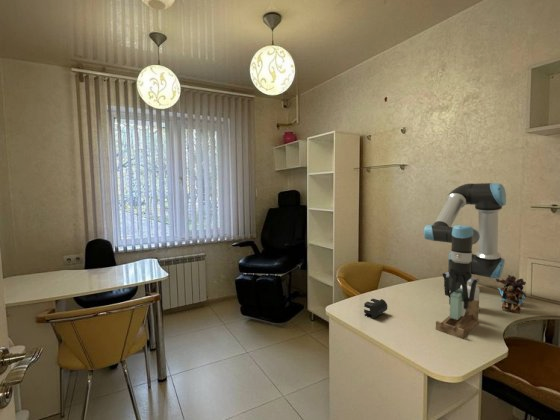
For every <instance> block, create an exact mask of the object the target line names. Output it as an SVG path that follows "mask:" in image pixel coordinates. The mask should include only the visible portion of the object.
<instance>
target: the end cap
mask: <svg viewBox="0 0 560 420" xmlns="http://www.w3.org/2000/svg"><path fill="white" fill-rule="evenodd" d="M363 307H364V309H363V313H364V315H363V316H364V317H366V316H367V317H366V318H369V317H370V318H369V319H376V318H377V317H379V316H380V315H383V313H385V312H386V311H387V310H388V307H389V306H388V304H387V302H386V301H385V300H384V299H382V298H381V299H377V298H372V299H370V301H366V302H364V306H363ZM366 308H367V309H366ZM368 309H369V310H368Z"/></svg>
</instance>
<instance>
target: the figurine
mask: <svg viewBox="0 0 560 420" xmlns="http://www.w3.org/2000/svg"><path fill="white" fill-rule="evenodd" d="M495 281H496V283H501V284H503V287H501V288H500V289H501V291H503V296H501V300H502V299H505V300H504V301H502V302H503V303H502V304H501V309H502V311H503V312H507V313H512V314H520V313H521V310H522V308H521V304H520V305H519V304H518V303H519V299H522V296H523V295H524V296H525V299H526V298H527V293H526V292H524V291H523V290H524V286H525V285H526V284H527V283H526V281H525V280H524V278H519V279H517V278H516V276H515V275H510V274H508V277H506V279H504V278H501V279H500V278H498V279H496V278H495Z"/></svg>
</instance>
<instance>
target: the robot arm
mask: <svg viewBox="0 0 560 420" xmlns="http://www.w3.org/2000/svg"><path fill="white" fill-rule="evenodd" d="M506 203H507V193H506V189H505V187H504V185H503V184H502V183H494V182H488V183H487V182H485V183H483V182H482V183H465V184H461V185H459V186H457V187H456V188H454V189H453V190H451V191H450V192H449V193H448V195H447V197H446V199H445V204H444V205H443V207H442V209H441V210H440V213H439V214H438V215H437V217H436V219H435V221H434V223H433V224H427V225H425V226H424V229H423V237H424V240H428V241H433V242H441V243H442V242H443V243H450V244H451V250H450V252H449V255H448V258H447V259H448V264H447V265H448V267H447V270H448V271H446V272H443V273H442V277H443V281H444V282H443V287H444V295H445V296H447V297H448V299H449V301H448V303H449V305H450V297H451V296H450V295H451V294H452V293H453V292H455V291H456V290H458V289H459V288H460V286H461V285H462V290H463V298H464V300H463V301H462V306H461V316H464V315H465V309H467V308H468V302H472V301H473V300H474V295H475V289H476V286H477V285H476V284H478V282H479V278H475V277H474V276H479V277H480V276H481V277H484V278H489V279H495V280H496V279H500V278H501V277H502V274H503V270H504V268H505V262H506V259H505V258H504V257H502V255H501V253H500V252H498V251H499V248H498V247H499V211H500V210H502V209H503V207H504V206H506ZM466 205H472V206H474V209H475V210H476V211H477V212H478V230H477V229H475V228H473V226H471V225H463V224H462V225H459V224H458V225H454V226H453V224H454V223H455V220H456V219H457V217H458V215H459V213H460V211H461V209H462V208H464V207H465V206H466ZM477 242H478V250H477V251H475V254H474V253H473V245H475V244H477ZM473 275H474V276H473ZM470 279H471V282H472V284H471V290H470V296H469V297H468V289H467V281H468V280H470Z"/></svg>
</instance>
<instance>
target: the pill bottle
mask: <svg viewBox="0 0 560 420" xmlns="http://www.w3.org/2000/svg"><path fill="white" fill-rule="evenodd" d="M471 284H472V282H471V279H470V280H468V281H467V289H468V297H469V296H470V290H471ZM477 284H478V283H477ZM477 284H476V289H475V295H474V299H475V300H479V301H480V292H481V291H480V287H479V286H477ZM460 288H461V289H462V285H461V286H460Z"/></svg>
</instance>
